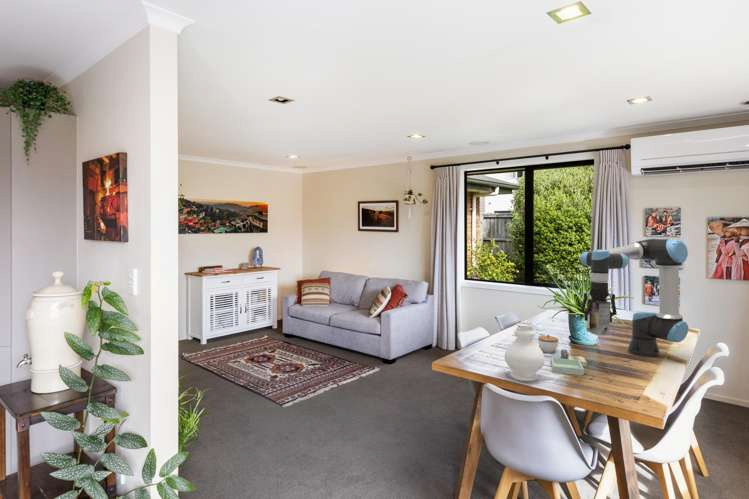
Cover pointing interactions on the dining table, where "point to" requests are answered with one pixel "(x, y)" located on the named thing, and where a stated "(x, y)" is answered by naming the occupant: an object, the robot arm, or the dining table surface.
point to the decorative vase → (524, 354)
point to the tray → (567, 366)
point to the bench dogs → (564, 354)
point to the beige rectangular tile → (579, 359)
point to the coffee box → (599, 318)
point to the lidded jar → (548, 343)
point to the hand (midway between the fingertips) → (597, 328)
